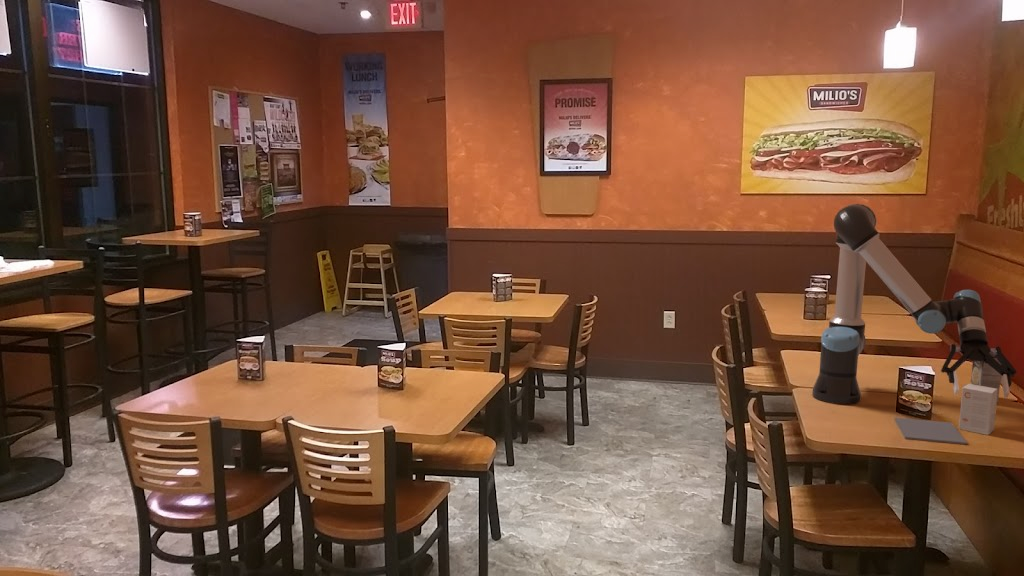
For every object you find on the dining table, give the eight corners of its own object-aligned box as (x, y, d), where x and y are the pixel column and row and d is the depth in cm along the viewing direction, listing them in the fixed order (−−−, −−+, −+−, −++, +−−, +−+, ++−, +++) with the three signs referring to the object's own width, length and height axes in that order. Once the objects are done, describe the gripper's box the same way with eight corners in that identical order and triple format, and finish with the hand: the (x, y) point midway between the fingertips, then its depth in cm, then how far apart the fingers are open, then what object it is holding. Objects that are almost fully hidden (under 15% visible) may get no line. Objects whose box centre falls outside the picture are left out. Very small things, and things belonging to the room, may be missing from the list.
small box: (994, 430, 236) (998, 388, 234) (988, 435, 232) (993, 392, 230) (963, 424, 242) (968, 383, 240) (957, 429, 237) (962, 387, 235)
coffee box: (968, 394, 272) (973, 349, 270) (988, 395, 271) (993, 350, 268) (978, 402, 263) (983, 355, 261) (999, 403, 262) (1004, 356, 260)
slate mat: (905, 438, 229) (905, 436, 229) (894, 419, 246) (894, 417, 246) (966, 444, 224) (967, 442, 224) (951, 424, 241) (951, 422, 241)
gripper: (1013, 342, 250) (1024, 402, 239) (926, 338, 257) (933, 396, 245) (1020, 330, 244) (1032, 390, 233) (931, 325, 251) (938, 384, 240)
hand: (981, 393), depth 239 cm, fingers open, 13 cm apart
